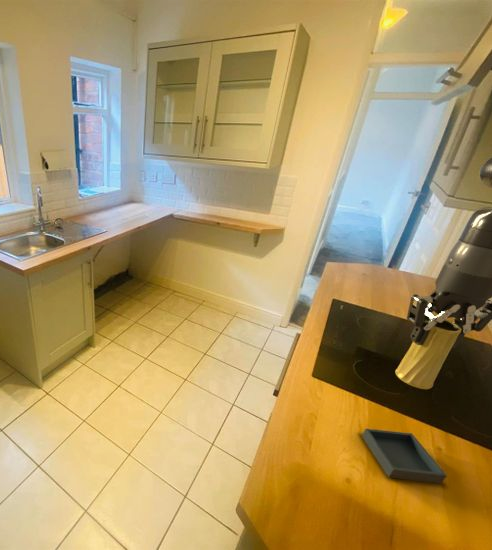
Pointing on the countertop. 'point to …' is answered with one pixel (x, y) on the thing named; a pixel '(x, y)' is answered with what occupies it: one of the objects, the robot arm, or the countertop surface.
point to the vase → (428, 356)
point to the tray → (403, 456)
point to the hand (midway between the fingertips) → (432, 343)
